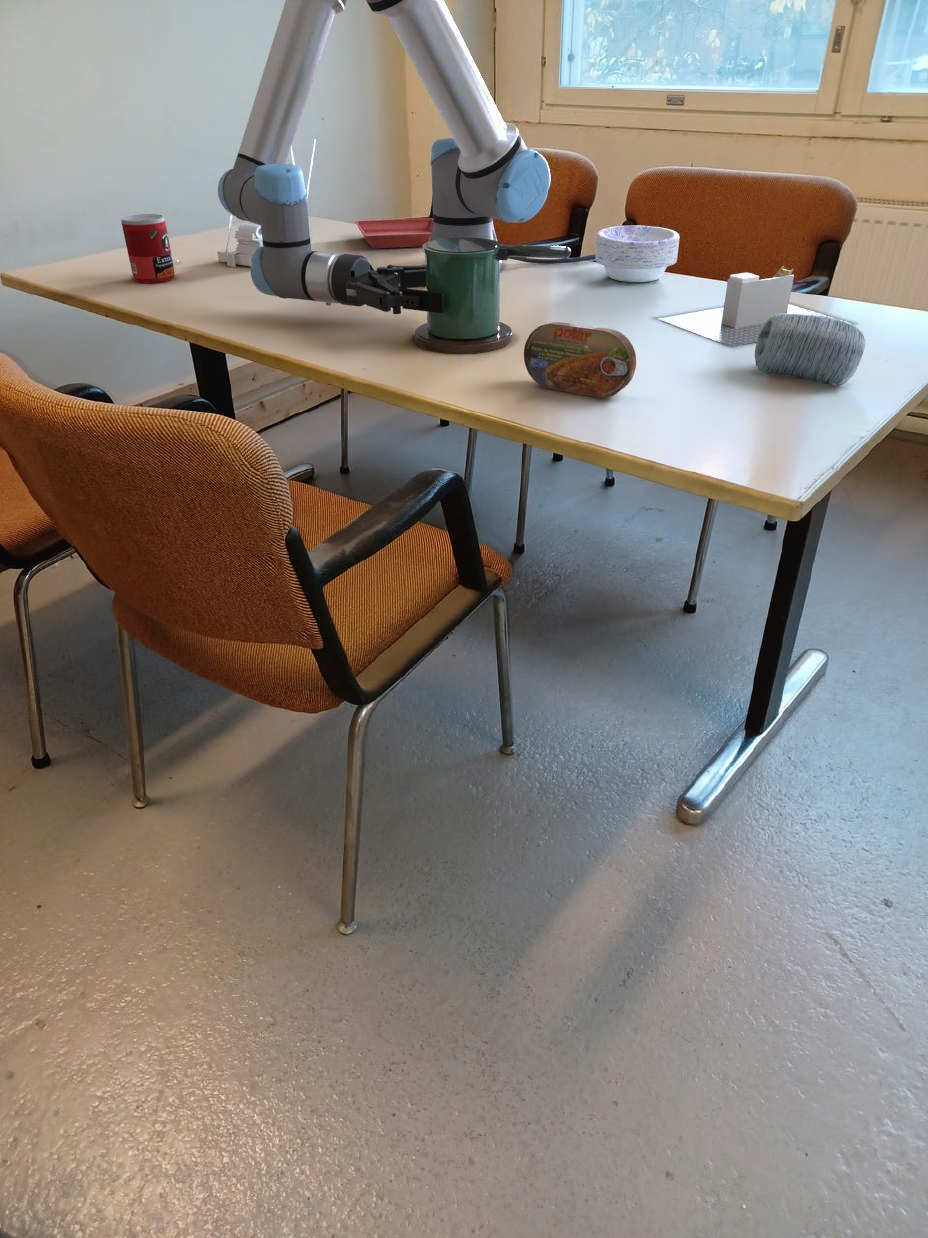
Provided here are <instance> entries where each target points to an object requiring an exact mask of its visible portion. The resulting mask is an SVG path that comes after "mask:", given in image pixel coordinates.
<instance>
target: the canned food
mask: <svg viewBox="0 0 928 1238" xmlns="http://www.w3.org/2000/svg"><path fill="white" fill-rule="evenodd" d="M120 220H121V227H122V232H123V237H124V241H125V245H126V246H125V247H126V249H127V250H126V251H127V255H128V260H129V264H130V270H131V274H132V277H133V279H134V281H135V282H137V283H141V284H160V283H167V282H171V281H172V280H173V279H175V273H176V271H175V266H174V261H173V256H172V255H173V254H172V250H171V249H172V248H171V243H170V240H169V239H170V238H169V232H168V228H167V222H166V218H165V215H162V214H159V213H158V214H156V213H140V214H131V215H126V216H123V217H121V218H120Z"/></svg>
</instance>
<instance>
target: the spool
mask: <svg viewBox="0 0 928 1238" xmlns="http://www.w3.org/2000/svg"><path fill="white" fill-rule="evenodd" d="M833 318H834V317H833ZM833 318H828V317H824V316H817V315H805V314H783V313H779V314H775V315H773V316H771V317H770V318H769V319H768V320H767V321H766V323H765V324H764V326H763V328H762V330H761V332H760V334H759V336H758V339H757V342H755V343H756V344H755V348H754V362H755V365H756V367H757V369H758V370H759V371H761V372H763V373H765V374H767V375H772V374H775V375H777V376H778V375H779V376H787V377H791V378H792V377H793V378H796V379H797V378H798V379H801V380H807V381H811V382H815V383H821V384H824V385H832V386H835V387H837V386H843V385H845V384H846V383H847V382H848V381H849V380H850V379H851V378H853V377H854V375H855V374H856V371H857V370H858V367H859V365H860V363H861V361H862V357H863V354H864V352H865V350H866V349H865V348H866V338H865V335H864V333H863V331H862V330H861V329H860V328H858V327H857V326H856V325H853V324H849V323H850V322H849V323H847V322H848V321H846V322H844V321H845V320H842V319H839V318H836V319H833ZM841 320H842V321H841Z"/></svg>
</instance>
